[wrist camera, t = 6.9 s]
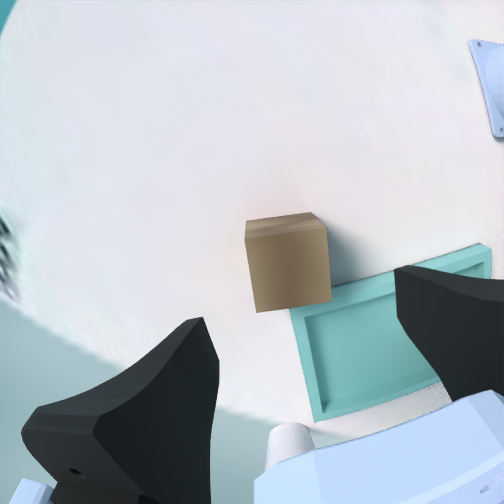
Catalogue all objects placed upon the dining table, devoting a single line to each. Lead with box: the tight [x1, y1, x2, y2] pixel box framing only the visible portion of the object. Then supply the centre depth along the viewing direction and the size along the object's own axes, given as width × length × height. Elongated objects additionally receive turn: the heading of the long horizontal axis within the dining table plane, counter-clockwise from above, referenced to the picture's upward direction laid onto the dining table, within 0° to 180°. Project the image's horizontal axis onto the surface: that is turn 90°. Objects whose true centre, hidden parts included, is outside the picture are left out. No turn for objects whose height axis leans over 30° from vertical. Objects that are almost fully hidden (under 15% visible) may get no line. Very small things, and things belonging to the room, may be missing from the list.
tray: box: [289, 243, 492, 422], centre depth 21 cm, size 16×11×2 cm
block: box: [245, 212, 332, 313], centre depth 18 cm, size 4×4×4 cm
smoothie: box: [264, 423, 315, 473], centre depth 18 cm, size 6×6×14 cm
